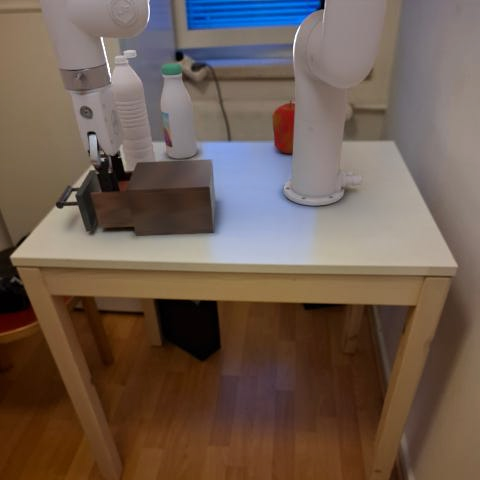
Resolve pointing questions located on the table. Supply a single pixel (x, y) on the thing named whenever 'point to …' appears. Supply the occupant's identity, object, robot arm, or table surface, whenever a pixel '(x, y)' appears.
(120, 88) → the water bottle
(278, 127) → the apple
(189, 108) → the milk bottle
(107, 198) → the drawer
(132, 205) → the cabinet
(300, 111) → the robot arm
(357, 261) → the table surface
